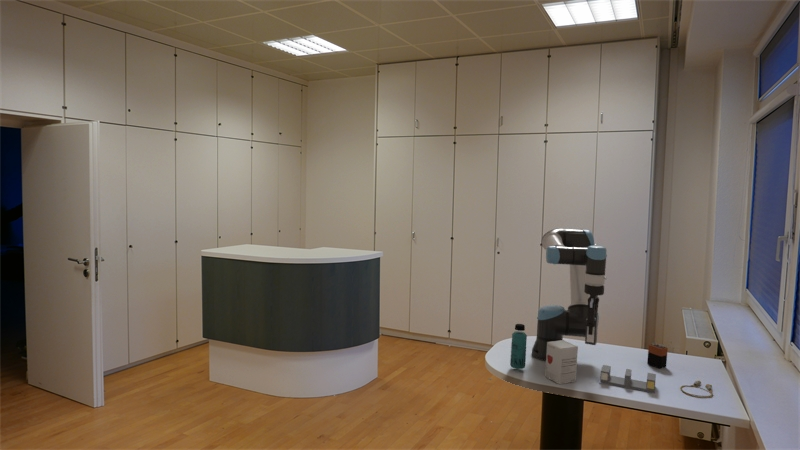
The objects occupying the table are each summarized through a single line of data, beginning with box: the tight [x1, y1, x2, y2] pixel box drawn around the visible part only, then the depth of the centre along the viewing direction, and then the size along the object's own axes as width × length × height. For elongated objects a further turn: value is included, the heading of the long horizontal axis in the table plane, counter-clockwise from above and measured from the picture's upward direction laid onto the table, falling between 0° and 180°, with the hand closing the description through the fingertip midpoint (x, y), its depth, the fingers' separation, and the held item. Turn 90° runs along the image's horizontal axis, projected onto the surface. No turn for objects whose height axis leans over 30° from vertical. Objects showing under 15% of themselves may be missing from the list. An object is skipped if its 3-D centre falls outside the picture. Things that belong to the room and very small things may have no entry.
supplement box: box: [544, 339, 579, 385], centre depth 217 cm, size 9×9×15 cm
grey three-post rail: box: [599, 364, 657, 394], centre depth 213 cm, size 20×8×5 cm, turn 63°
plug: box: [584, 318, 599, 346], centre depth 216 cm, size 4×4×11 cm
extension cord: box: [680, 380, 714, 399], centre depth 209 cm, size 12×16×2 cm
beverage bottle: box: [509, 323, 528, 370], centre depth 226 cm, size 6×7×20 cm
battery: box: [647, 342, 668, 369], centre depth 236 cm, size 4×7×10 cm, turn 27°
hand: (591, 340), depth 216 cm, fingers closed on plug, 4 cm apart
